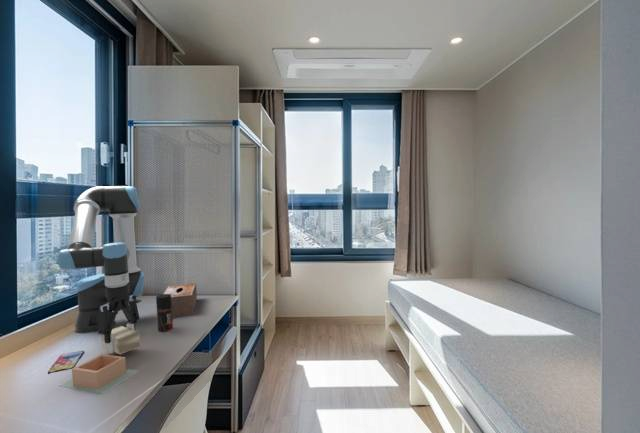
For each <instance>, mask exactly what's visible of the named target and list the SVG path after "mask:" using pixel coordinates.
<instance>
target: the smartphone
mask: <svg viewBox="0 0 640 433" xmlns="http://www.w3.org/2000/svg"><path fill="white" fill-rule="evenodd" d="M84 354H85V351H84V350H79V351H73V352H68V353H64V354H61V355H59V357H58V358H57V359H56V360H55V362H54V363H53V365H51V367H50V368H49V370H48V371H47V374H48V375H49V374H53V373H58V372H62V371H67V370H72V369H73V368H75V367H76V366H77V364H78V362H79V361H80V359H82V357H83V355H84Z"/></svg>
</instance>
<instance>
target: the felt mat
mask: <svg viewBox="0 0 640 433" xmlns="http://www.w3.org/2000/svg"><path fill="white" fill-rule="evenodd" d="M139 372H140V371H139V370H135V369H127V368H126V372H125V373H124V374H122V375H120V376H119V377H117V378H115V379H114V380H112V381H110V382H109V383H107V384H105V385H104V386H102V387H100V388H99V389H94V388H88V387H82V386H77V385H73V379H72V378H70V379H68V380H67V381H65V382H62V383H61V384H59V385H58V387H63V388H68V389H74V390H78V391H84V392H89V393H95V394H101V395H104V394H106V393H107V392H109V391H111V390H112V389H113V388H115V387H116V386H117V387H118V386H119V385H120V384H121V383H123V382H125V381H126V380H127V379H130V378H131V377H133V376H134V375H136V374H137V373H139Z"/></svg>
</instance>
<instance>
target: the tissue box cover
mask: <svg viewBox="0 0 640 433" xmlns="http://www.w3.org/2000/svg"><path fill="white" fill-rule="evenodd" d="M162 294H171V305H172V318H174V316H175V317H182V315H183V316H189V315H190V316H191V315H193V314H194V311H195V307H196V304H197V301H198V297H197V283H196V282H194V283H183V284H182V283H181V284H173V285H172V284H171V285H168V286H167V287H166V289H165V290H164V292H163V293H162Z"/></svg>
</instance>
